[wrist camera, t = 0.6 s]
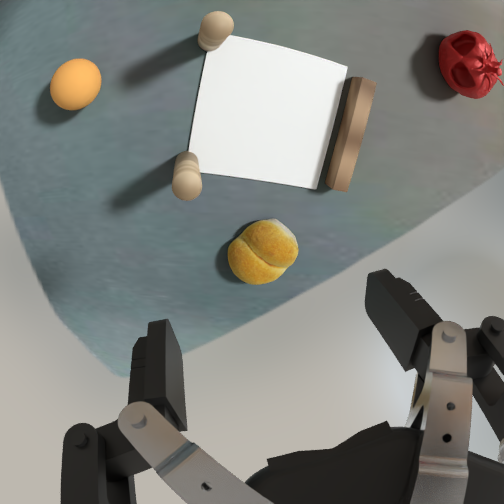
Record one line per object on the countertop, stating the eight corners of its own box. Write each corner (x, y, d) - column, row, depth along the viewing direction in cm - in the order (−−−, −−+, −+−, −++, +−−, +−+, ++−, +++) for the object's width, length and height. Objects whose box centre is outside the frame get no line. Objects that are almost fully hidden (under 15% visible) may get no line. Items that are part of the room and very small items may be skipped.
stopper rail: (352, 76, 33) (362, 77, 30) (365, 82, 33) (376, 82, 31) (324, 182, 39) (332, 189, 37) (338, 185, 39) (346, 192, 37)
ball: (65, 60, 25) (45, 58, 21) (110, 60, 27) (97, 56, 22) (59, 107, 28) (39, 113, 23) (103, 108, 29) (89, 113, 25)
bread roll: (214, 255, 42) (217, 272, 38) (263, 205, 39) (271, 218, 36) (259, 287, 45) (265, 304, 42) (305, 243, 43) (315, 258, 40)
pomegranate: (475, 44, 31) (520, 48, 23) (470, 101, 36) (515, 113, 28) (431, 21, 29) (479, 19, 21) (427, 85, 34) (475, 94, 26)
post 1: (176, 149, 34) (173, 170, 26) (199, 152, 34) (204, 173, 27) (173, 171, 35) (170, 199, 27) (196, 174, 35) (199, 202, 28)
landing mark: (211, 32, 28) (211, 32, 28) (346, 66, 32) (347, 66, 32) (185, 170, 35) (185, 170, 35) (315, 189, 39) (316, 189, 39)
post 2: (200, 27, 27) (204, 9, 20) (224, 31, 28) (236, 14, 20) (195, 49, 28) (197, 37, 21) (219, 52, 29) (230, 42, 21)
